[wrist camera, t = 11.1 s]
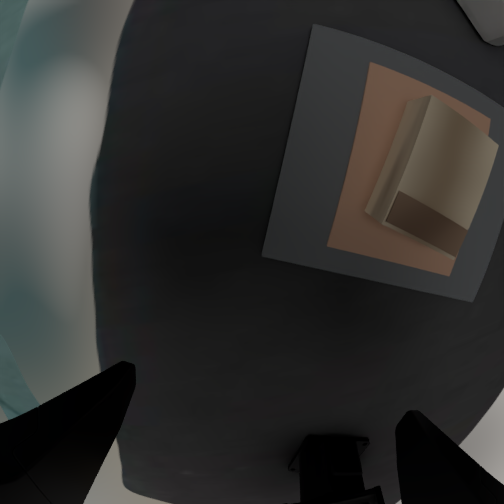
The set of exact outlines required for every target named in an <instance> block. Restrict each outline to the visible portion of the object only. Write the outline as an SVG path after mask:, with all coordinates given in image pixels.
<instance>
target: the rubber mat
mask: <svg viewBox="0 0 504 504" xmlns="http://www.w3.org/2000/svg"><path fill="white" fill-rule="evenodd" d="M429 95H433V96H434V97H436V98H437V99H439V100H440V101H442V102H443V103H445V104H446V105H448V106H449V107H451V108H452V109H453V110H455V111H456V112H458V113H459V114H460V115H462V116H463V117H464V118H466V119H467V120H468V121H470V122H471V123H472V124H474V125H475V126H476V127H477V128H479V129H480V130H481V131H482V132H484V133H485V134H486V135H487V136H488V137H490V138H491V139H492V140H493V141H494V142H496V143H497V144H498V145H499V147H498V150H497V153H496V157H495V160H494V163H493V166H492V169H491V172H490V175H489V178H488V181H487V184H486V187H485V189H484V192H483V195H482V197H481V200H480V202H479V205H478V208H477V210H476V212H475V215H474V217H473V220H472V222H471V224H470V227H469V229H468V232H467V234H466V236H465V239H464V241H463V243H462V245H461V247H460V249H459V251H458V253H457V255H456V257H455V259H454V260H452V259H450V258H448V257H446V256H445V255H443V254H441V253H439V252H437V251H435V250H433V249H431V248H429V247H427V246H425V245H423V244H421V243H419V242H417V241H415V240H413V239H411V238H409V237H407V236H405V235H403V234H401V233H399V232H397V231H395V230H393V229H391V228H389V227H387V226H385V225H383V224H381V223H380V222H378V221H377V220H376V219H374V218H373V217H372V216H370V215H369V214H368V213H366V212H365V209H366V206H367V204H368V202H369V199H370V197H371V195H372V193H373V190H374V188H375V185H376V183H377V181H378V178H379V176H380V173H381V171H382V168H383V166H384V164H385V161H386V159H387V156H388V153H389V151H390V148H391V146H392V143H393V140H394V138H395V135H396V132H397V130H398V127H399V124H400V122H401V119H402V116H403V113H404V110H405V107H406V105H407V102H408V101H411V100H415V99H418V98H422V97H425V96H429ZM503 219H504V108H503V107H502V106H500V105H499V104H497V103H496V102H494V101H493V100H491V99H490V98H488V97H487V96H485V95H484V94H482V93H480V92H479V91H477V90H475V89H474V88H472V87H470V86H469V85H467V84H465V83H463V82H462V81H460V80H458V79H456V78H454V77H452V76H451V75H449V74H447V73H445V72H443V71H441V70H439V69H437V68H435V67H433V66H431V65H429V64H427V63H425V62H422V61H420V60H418V59H416V58H414V57H411V56H409V55H407V54H404V53H402V52H399V51H397V50H395V49H392V48H389V47H387V46H384V45H382V44H379V43H376V42H373V41H371V40H368V39H365V38H362V37H359V36H356V35H353V34H349V33H346V32H343V31H339V30H336V29H332V28H329V27H325V26H321V25H317V24H313V26H312V30H311V35H310V40H309V45H308V49H307V54H306V59H305V63H304V68H303V72H302V77H301V82H300V86H299V91H298V95H297V100H296V104H295V109H294V113H293V118H292V122H291V127H290V131H289V136H288V140H287V145H286V149H285V154H284V158H283V163H282V167H281V172H280V176H279V180H278V185H277V189H276V194H275V198H274V202H273V207H272V211H271V215H270V220H269V224H268V228H267V233H266V237H265V241H264V246H263V250H262V257H266V258H271V259H276V260H280V261H285V262H289V263H294V264H298V265H303V266H308V267H312V268H317V269H321V270H326V271H330V272H335V273H340V274H344V275H349V276H353V277H358V278H363V279H367V280H372V281H376V282H381V283H386V284H390V285H395V286H399V287H404V288H409V289H413V290H418V291H423V292H427V293H432V294H436V295H441V296H446V297H450V298H455V299H460V300H464V301H469V302H473V301H474V298H475V296H476V294H477V291H478V289H479V287H480V284H481V282H482V280H483V277H484V275H485V272H486V269H487V267H488V264H489V261H490V259H491V256H492V253H493V250H494V247H495V244H496V241H497V238H498V235H499V232H500V229H501V226H502V222H503Z"/></svg>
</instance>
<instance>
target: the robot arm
mask: <svg viewBox="0 0 504 504" xmlns="http://www.w3.org/2000/svg"><path fill="white" fill-rule="evenodd" d="M135 386H136V369H135V365H134V364H132V363H129V362H126V361H121V362H119V363H117V364H115V365H113V366H112V367H110V368H108V369H106V370H104V371H103V372H101V373H99V374H97V375H95V376H94V377H92V378H90V379H88V380H87V381H84V382H83V383H81V384H79V385H77V386H75V387H74V388H72V389H70V390H68V391H66V392H64V393H62V394H60V395H59V396H57V397H55V398H53V399H51V400H49V401H47V402H45V403H43V404H42V405H40V406H39V407H36V408H34V409H32V410H30V411H28V412H26V413H24V414H22V415H20V416H17V417H15V418H13V419H10V420H8V421H5V422H3V423H0V504H83V503H84V500H85V498H86V496H87V494H88V492H89V490H90V488H91V486H92V484H93V482H94V480H95V478H96V476H97V474H98V472H99V470H100V467H101V466H102V464H103V462H104V459H105V457H106V456H107V454H108V452H109V450H110V448H111V446H112V444H113V442H114V440H115V438H116V436H117V434H118V432H119V430H120V428H121V425H122V422H123V420H124V417H125V414H126V411H127V409H128V406H129V403H130V400H131V398H132V395H133V392H134V390H135ZM395 435H396V453H397V470H398V477H399V485H400V493H401V502H402V504H504V485H503V484H502V483H500V482H499V481H498V480H497V479H495V478H494V477H493V476H492V475H490V474H489V473H488V472H487V471H486V470H485V469H484V468H482V467H481V466H480V465H479V464H478V463H477V462H476V461H475V460H473V459H472V458H471V457H470V456H469V455H468V454H467V453H465V452H464V451H463V450H462V449H461V448H460V447H459V446H458V445H457V444H456V443H454V442H453V441H452V440H451V439H450V438H449V437H448V436H447V435H445V434H444V433H443V432H442V431H441V430H440V429H439V428H438V427H437V426H435V425H434V424H433V423H432V422H431V421H430V420H429V419H428V418H427V417H425V416H424V415H423V414H422V413H421V412H420V411H418V410H410V411H408V412H406V414H405V415H404V416H403V418H402V419H401V420H400V422H399V423H398V424H397V426H396V430H395ZM369 444H370V442H369V439H368V438H340V437H323V436H308V437H306V438H305V440H304V442H303V443H302V445H301V447H300V448H299V450H298V452H297V453H296V455H295V456H294V458H293V460H292V461H291V463H290V464H289V466H288V470H289V471H291V472H300V503H293V504H385V503H384V499H383V495H382V491H381V488H380V486H376V487H374V488H372V489H368V490H365V488H364V482H363V477H362V468H361V463H360V458H359V456H360V455H361V454H362V453H363V451H364V450H365V449H366V448H367V446H368V445H369ZM285 504H288V503H285Z"/></svg>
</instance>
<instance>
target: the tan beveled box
mask: <svg viewBox="0 0 504 504" xmlns="http://www.w3.org/2000/svg"><path fill="white" fill-rule="evenodd" d="M498 147H499V145H498V144H497V143H496V142H494V141H493V140H492V139H491V138H490V137H488V136H487V135H486V134H485V133H484V132H482V131H481V130H480V129H479V128H477V127H476V126H475V125H474V124H472V123H471V122H470V121H468V120H467V119H466V118H464V117H463V116H462V115H460V114H459V113H458V112H456V111H455V110H453V109H452V108H451V107H449V106H448V105H446V104H445V103H443V102H442V101H440V100H439V99H437V98H436V97H434V96H433V95H429V96H425V97H422V98H418V99H415V100H411V101H408V102H407V105H406V107H405V110H404V113H403V116H402V119H401V122H400V124H399V127H398V130H397V132H396V135H395V138H394V140H393V143H392V146H391V148H390V151H389V153H388V156H387V159H386V161H385V164H384V166H383V168H382V171H381V173H380V176H379V178H378V181H377V183H376V185H375V188H374V190H373V193H372V195H371V197H370V199H369V202H368V204H367V206H366V209H365V212H366V213H368V214H369V215H370V216H372V217H373V218H374V219H376V220H377V221H378V222H380V223H381V224H383V225H385V226H387V227H389V228H391V229H393V230H395V231H397V232H399V233H401V234H403V235H405V236H407V237H409V238H411V239H413V240H415V241H417V242H419V243H421V244H423V245H425V246H427V247H429V248H431V249H433V250H435V251H437V252H439V253H441V254H443V255H445V256H446V257H448V258H450V259H452V260H454V259H455V257H456V255H457V253H458V251H459V249H460V247H461V245H462V243H463V241H464V239H465V236H466V234H467V232H468V229H469V227H470V224H471V222H472V220H473V217H474V215H475V212H476V210H477V208H478V205H479V202H480V200H481V197H482V195H483V192H484V189H485V187H486V184H487V181H488V178H489V175H490V172H491V169H492V166H493V163H494V160H495V157H496V153H497V150H498Z"/></svg>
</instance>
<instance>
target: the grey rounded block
mask: <svg viewBox="0 0 504 504" xmlns="http://www.w3.org/2000/svg"><path fill="white" fill-rule="evenodd" d="M457 2H458V3H459V5H460V6H461V7H462V9H463V10H464V12H465V13H466V15H467V16H468V18H469V19H470V21H471V22H472V24H473V25H474V27H475V29H476V30H477V32H478V33H479V34H480V36H481V37H482V39H483V40H484V41H486V42H488V43H490V44H492V45H495V46H502V45H504V0H457Z"/></svg>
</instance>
